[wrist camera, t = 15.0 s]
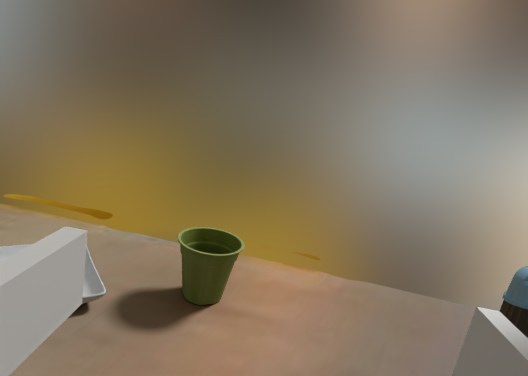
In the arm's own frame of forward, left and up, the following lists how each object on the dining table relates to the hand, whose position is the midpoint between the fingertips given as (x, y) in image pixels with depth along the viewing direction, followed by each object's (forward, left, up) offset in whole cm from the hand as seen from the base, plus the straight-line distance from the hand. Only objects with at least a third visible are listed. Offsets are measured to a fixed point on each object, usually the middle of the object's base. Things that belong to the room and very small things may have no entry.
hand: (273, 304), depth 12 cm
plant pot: (+25, -43, -30) cm, 58 cm away
